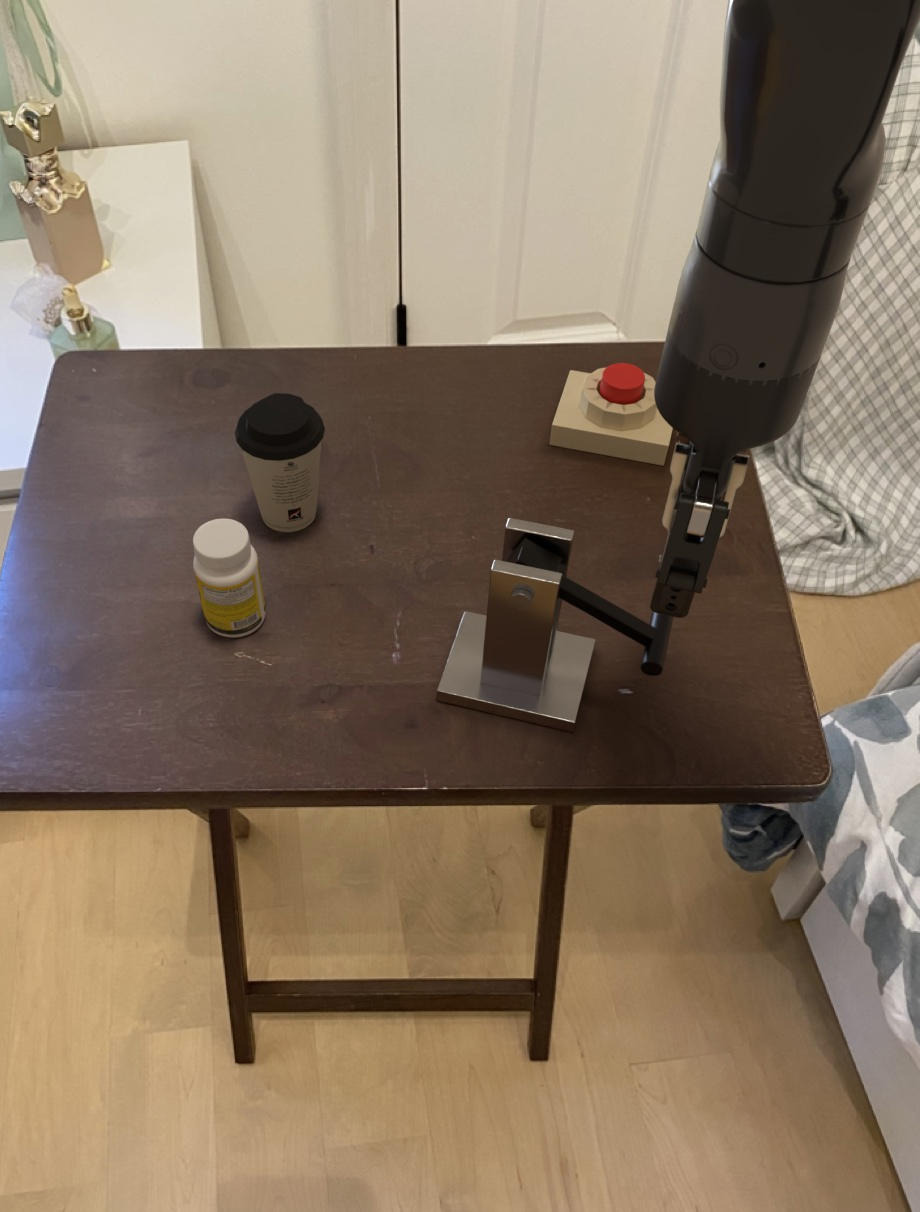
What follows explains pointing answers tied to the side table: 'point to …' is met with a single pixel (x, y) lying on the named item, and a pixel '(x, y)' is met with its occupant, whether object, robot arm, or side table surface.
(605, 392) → the button
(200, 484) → the side table surface
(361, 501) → the side table surface
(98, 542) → the side table surface
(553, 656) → the bracket
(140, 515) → the side table surface
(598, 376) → the control block
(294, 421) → the coffee cup
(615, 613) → the lever
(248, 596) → the supplement bottle
